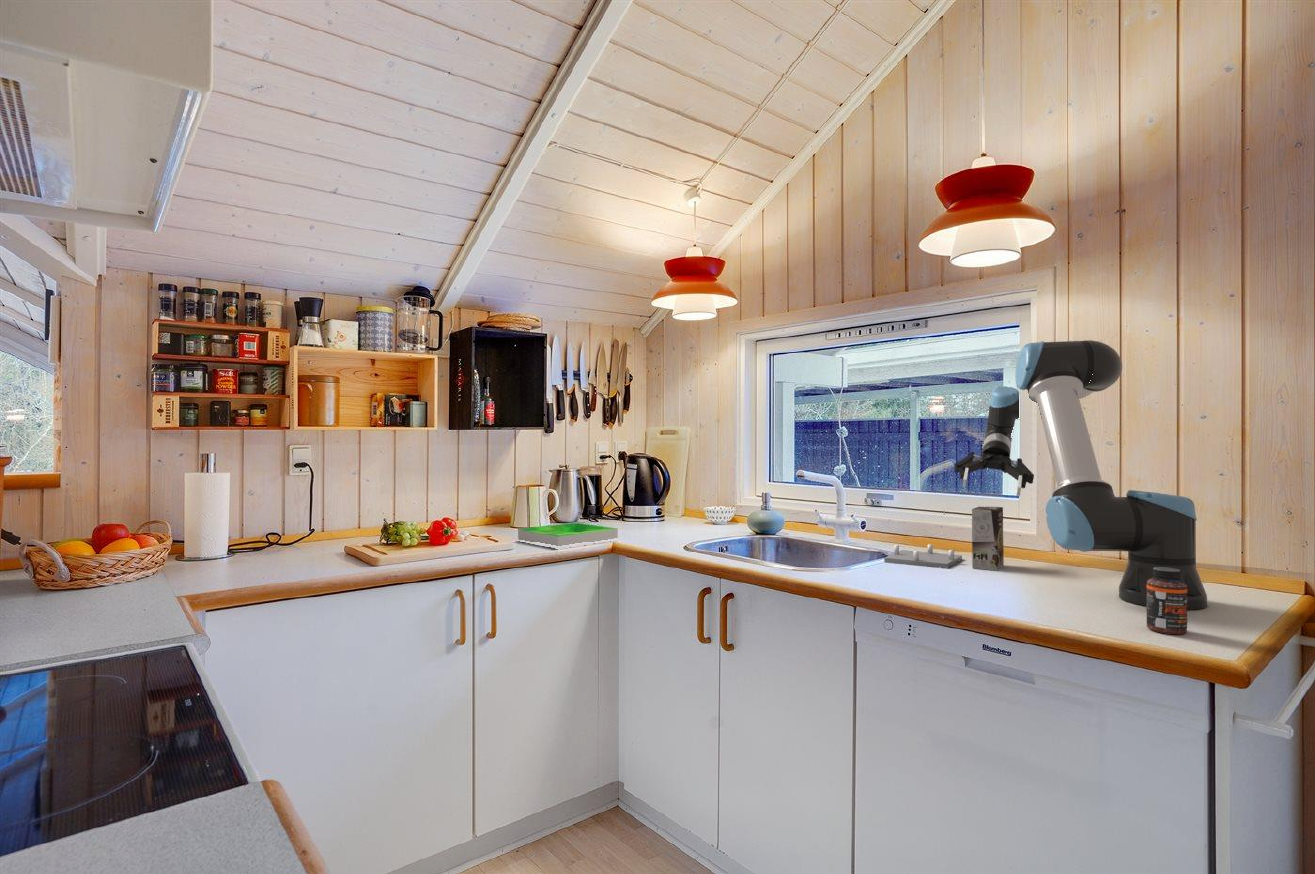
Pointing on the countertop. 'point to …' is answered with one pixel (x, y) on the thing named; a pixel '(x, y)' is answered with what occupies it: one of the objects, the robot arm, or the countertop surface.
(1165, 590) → the supplement bottle
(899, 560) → the cradle
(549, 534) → the tray
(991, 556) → the coffee box
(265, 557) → the countertop surface
